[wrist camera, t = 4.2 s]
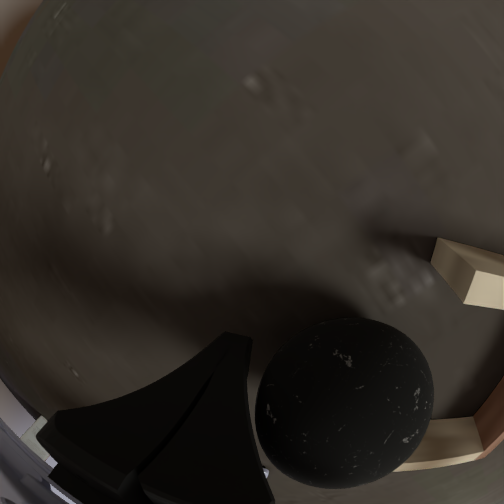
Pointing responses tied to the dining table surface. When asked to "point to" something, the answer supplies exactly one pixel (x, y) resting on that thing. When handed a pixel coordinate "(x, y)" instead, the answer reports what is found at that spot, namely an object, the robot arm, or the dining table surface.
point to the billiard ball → (344, 403)
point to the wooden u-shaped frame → (500, 400)
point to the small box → (31, 440)
